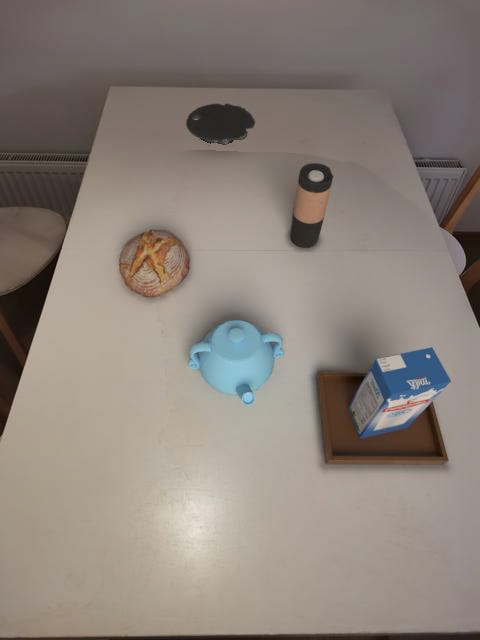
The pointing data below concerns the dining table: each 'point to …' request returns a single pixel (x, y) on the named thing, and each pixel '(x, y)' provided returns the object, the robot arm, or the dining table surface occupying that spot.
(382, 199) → the dining table surface
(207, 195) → the dining table surface
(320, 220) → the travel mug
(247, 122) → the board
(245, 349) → the teapot
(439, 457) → the tray
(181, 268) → the bread
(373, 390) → the milk carton
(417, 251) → the dining table surface
